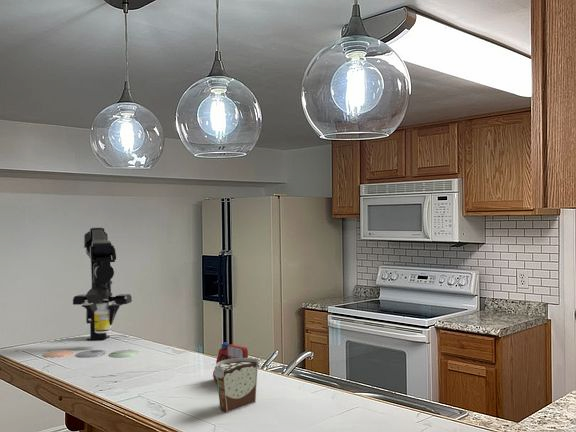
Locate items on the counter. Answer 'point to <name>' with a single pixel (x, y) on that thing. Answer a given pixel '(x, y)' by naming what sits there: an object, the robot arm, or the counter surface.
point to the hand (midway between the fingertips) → (102, 324)
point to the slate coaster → (91, 353)
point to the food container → (236, 383)
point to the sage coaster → (124, 353)
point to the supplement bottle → (102, 318)
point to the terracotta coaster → (58, 353)
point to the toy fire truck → (230, 354)
